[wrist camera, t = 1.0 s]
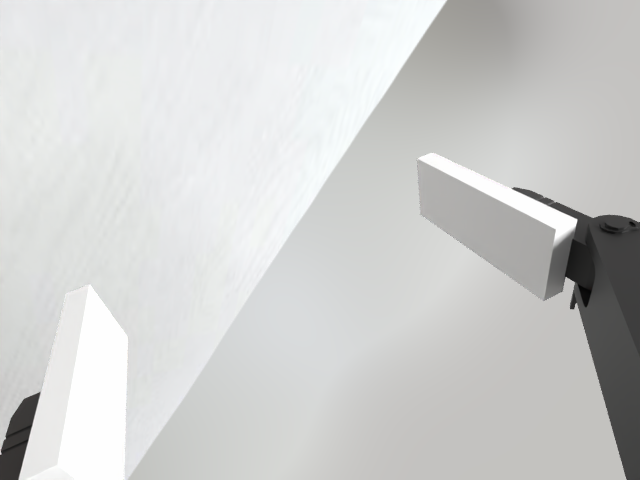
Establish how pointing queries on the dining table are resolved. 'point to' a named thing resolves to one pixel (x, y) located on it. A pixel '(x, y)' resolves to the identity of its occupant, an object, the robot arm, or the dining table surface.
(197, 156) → the dining table surface
